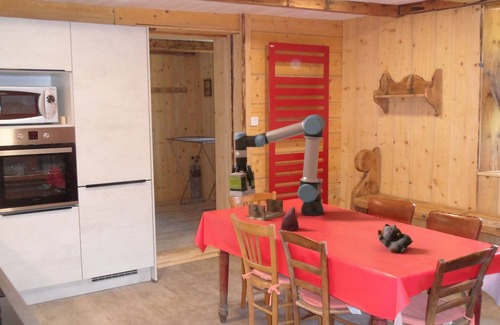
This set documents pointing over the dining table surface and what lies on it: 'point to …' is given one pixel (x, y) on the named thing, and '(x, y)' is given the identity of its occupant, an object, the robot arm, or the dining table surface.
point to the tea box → (240, 184)
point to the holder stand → (272, 210)
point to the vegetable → (290, 221)
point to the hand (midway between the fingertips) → (242, 190)
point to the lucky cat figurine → (394, 238)
